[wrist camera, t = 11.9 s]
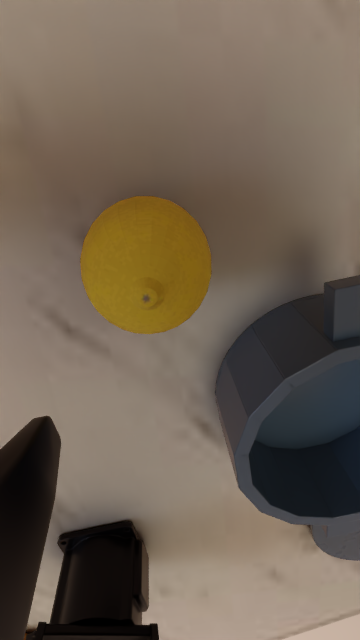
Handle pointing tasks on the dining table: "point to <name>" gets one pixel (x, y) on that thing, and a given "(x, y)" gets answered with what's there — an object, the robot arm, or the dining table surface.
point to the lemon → (145, 264)
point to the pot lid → (337, 543)
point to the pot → (298, 409)
